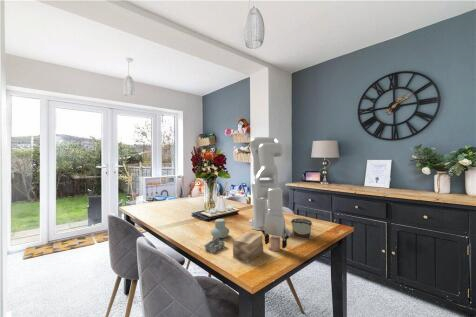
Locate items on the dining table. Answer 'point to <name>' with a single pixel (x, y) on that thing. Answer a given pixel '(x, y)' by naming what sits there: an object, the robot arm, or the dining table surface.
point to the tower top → (247, 242)
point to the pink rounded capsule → (275, 243)
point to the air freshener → (220, 229)
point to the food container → (301, 228)
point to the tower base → (247, 256)
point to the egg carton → (212, 246)
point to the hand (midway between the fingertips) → (275, 245)
